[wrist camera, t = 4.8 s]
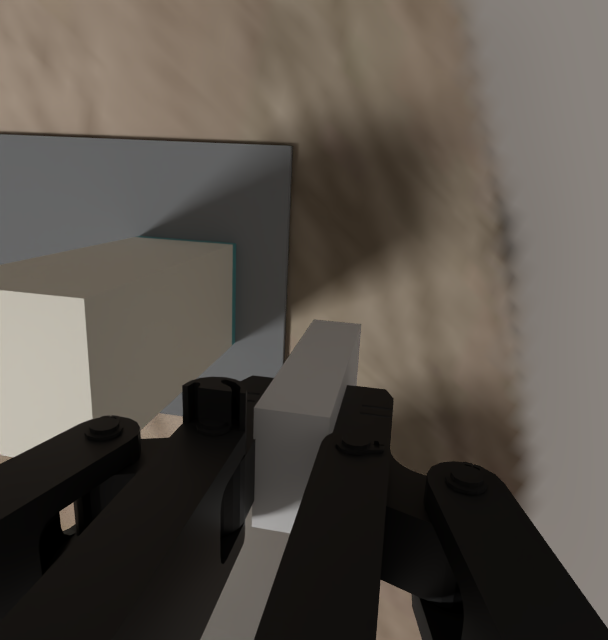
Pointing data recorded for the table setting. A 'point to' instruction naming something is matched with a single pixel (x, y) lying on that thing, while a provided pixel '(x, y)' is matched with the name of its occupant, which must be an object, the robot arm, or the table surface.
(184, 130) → the table surface
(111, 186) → the mat
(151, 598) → the robot arm
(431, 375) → the table surface
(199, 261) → the cream teal rectangular block
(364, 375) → the table surface
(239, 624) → the foam cup
